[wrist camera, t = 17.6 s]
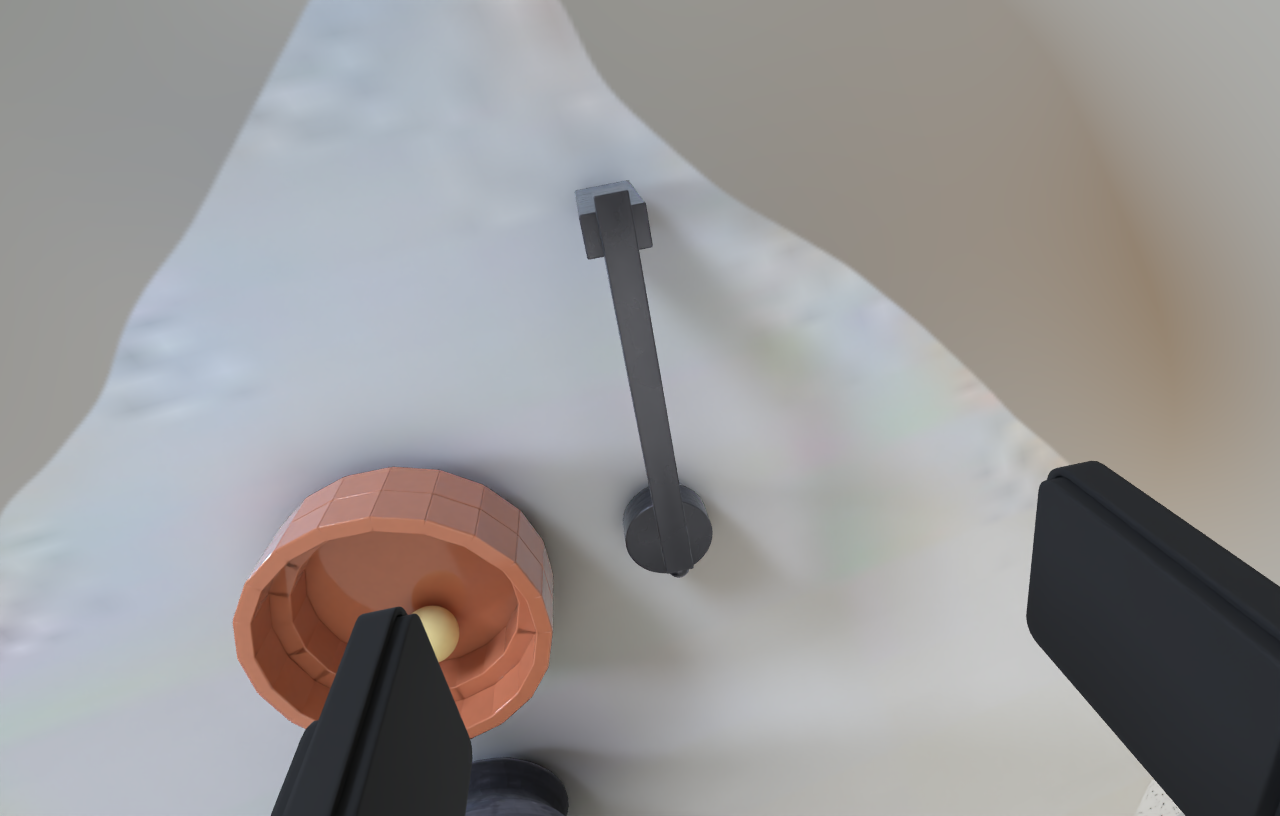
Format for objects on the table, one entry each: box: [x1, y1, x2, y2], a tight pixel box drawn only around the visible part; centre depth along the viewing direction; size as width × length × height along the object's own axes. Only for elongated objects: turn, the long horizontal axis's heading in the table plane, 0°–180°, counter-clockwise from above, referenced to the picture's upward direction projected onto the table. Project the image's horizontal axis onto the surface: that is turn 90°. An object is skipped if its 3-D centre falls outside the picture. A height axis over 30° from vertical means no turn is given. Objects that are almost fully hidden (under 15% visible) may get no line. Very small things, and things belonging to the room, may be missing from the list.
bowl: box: [233, 467, 553, 739], centre depth 35 cm, size 15×15×5 cm
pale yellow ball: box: [412, 606, 459, 662], centre depth 37 cm, size 3×3×3 cm
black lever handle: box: [575, 180, 712, 578], centre depth 31 cm, size 21×5×8 cm, turn 10°
